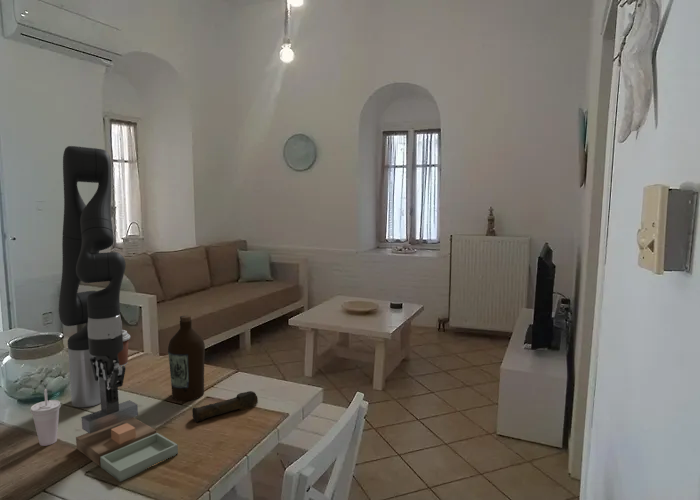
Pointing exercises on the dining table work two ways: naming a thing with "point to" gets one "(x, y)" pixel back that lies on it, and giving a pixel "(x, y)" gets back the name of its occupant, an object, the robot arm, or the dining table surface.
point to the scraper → (108, 411)
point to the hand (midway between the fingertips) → (109, 400)
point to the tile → (123, 433)
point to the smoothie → (46, 420)
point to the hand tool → (225, 406)
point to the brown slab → (109, 440)
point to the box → (138, 456)
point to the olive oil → (186, 362)
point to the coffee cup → (124, 349)
